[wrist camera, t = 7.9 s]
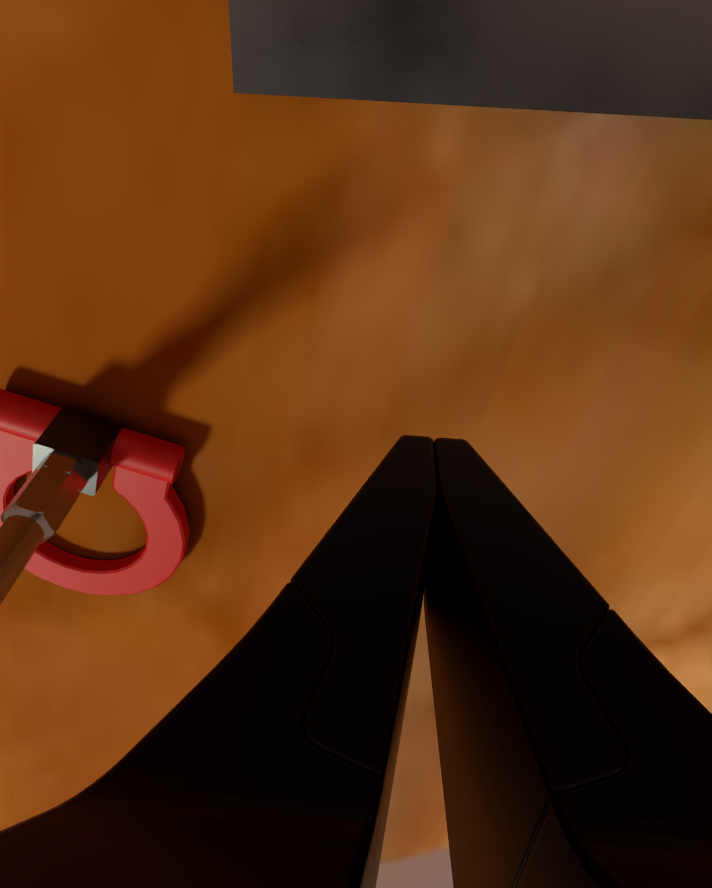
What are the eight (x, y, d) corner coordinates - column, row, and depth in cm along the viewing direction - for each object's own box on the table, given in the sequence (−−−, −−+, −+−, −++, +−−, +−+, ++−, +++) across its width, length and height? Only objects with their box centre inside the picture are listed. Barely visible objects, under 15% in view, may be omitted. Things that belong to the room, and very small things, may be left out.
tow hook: (175, 596, 30) (214, 443, 24) (38, 946, 19) (50, 823, 14) (-17, 541, 29) (-23, 368, 23) (-267, 880, 18) (-388, 719, 13)
